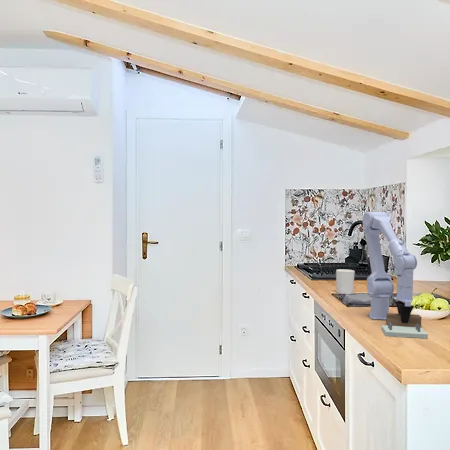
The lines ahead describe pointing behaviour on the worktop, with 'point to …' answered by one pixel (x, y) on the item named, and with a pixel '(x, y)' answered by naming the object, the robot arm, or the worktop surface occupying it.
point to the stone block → (358, 298)
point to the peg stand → (404, 331)
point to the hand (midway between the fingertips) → (403, 321)
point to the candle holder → (345, 281)
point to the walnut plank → (396, 321)
